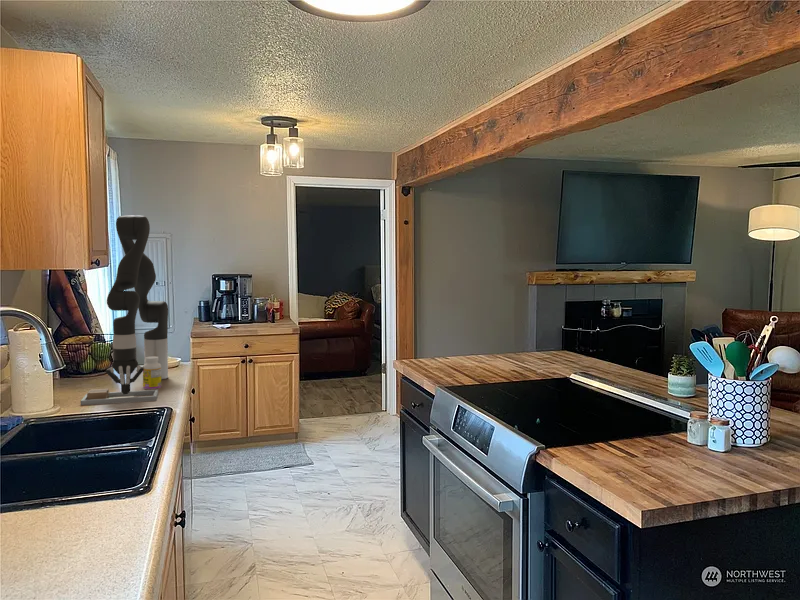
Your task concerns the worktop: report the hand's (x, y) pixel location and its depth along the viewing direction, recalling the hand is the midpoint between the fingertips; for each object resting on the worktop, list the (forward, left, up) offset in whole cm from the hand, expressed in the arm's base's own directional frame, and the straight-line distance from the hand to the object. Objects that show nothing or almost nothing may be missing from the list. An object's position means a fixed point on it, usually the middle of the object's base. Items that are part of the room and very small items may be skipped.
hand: (125, 393), depth 210 cm
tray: (0, -2, -3) cm, 3 cm away
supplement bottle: (-18, +7, -3) cm, 20 cm away
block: (0, -9, -2) cm, 9 cm away
